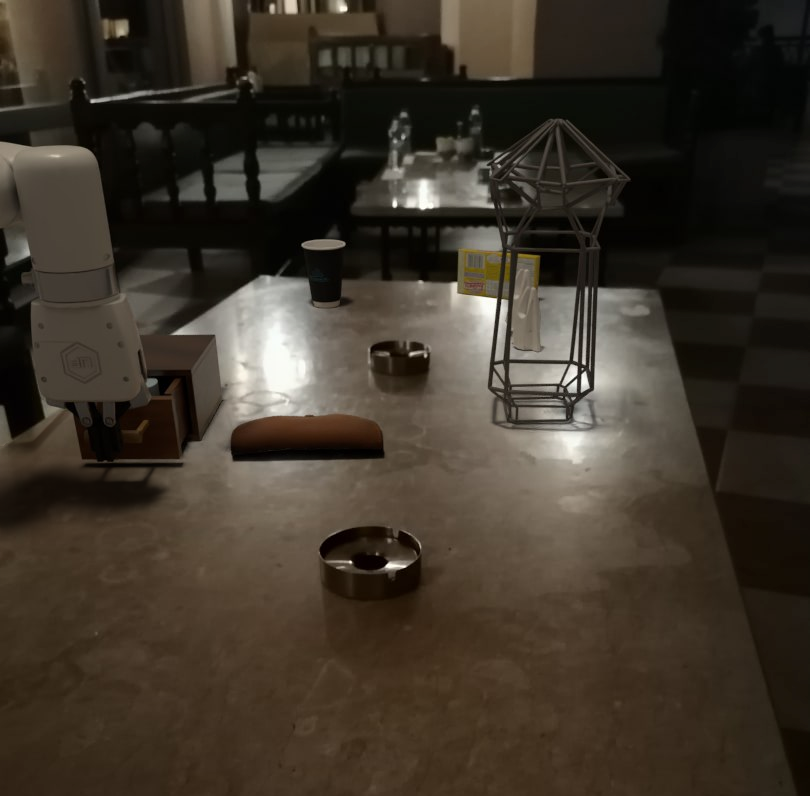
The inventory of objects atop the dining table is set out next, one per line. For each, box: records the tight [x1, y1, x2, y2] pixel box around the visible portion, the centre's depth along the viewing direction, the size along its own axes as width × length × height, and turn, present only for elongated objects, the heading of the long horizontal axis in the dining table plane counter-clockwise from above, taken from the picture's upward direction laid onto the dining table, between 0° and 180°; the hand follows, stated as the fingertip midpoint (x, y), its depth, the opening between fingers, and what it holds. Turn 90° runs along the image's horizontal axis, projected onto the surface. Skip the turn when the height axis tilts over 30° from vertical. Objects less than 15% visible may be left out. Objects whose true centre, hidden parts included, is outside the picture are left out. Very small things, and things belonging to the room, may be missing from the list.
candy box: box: [456, 248, 541, 300], centre depth 170 cm, size 16×2×8 cm, turn 60°
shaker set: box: [504, 269, 542, 353], centre depth 144 cm, size 12×4×11 cm, turn 3°
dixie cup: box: [301, 239, 346, 309], centre depth 166 cm, size 8×8×11 cm
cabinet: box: [139, 334, 223, 442], centre depth 116 cm, size 15×13×9 cm
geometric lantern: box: [486, 118, 632, 424], centre depth 110 cm, size 16×16×35 cm
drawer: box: [72, 376, 192, 460], centre depth 106 cm, size 18×11×7 cm, turn 179°
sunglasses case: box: [230, 413, 385, 457], centre depth 109 cm, size 18×7×7 cm
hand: (109, 456), depth 97 cm, fingers closed
